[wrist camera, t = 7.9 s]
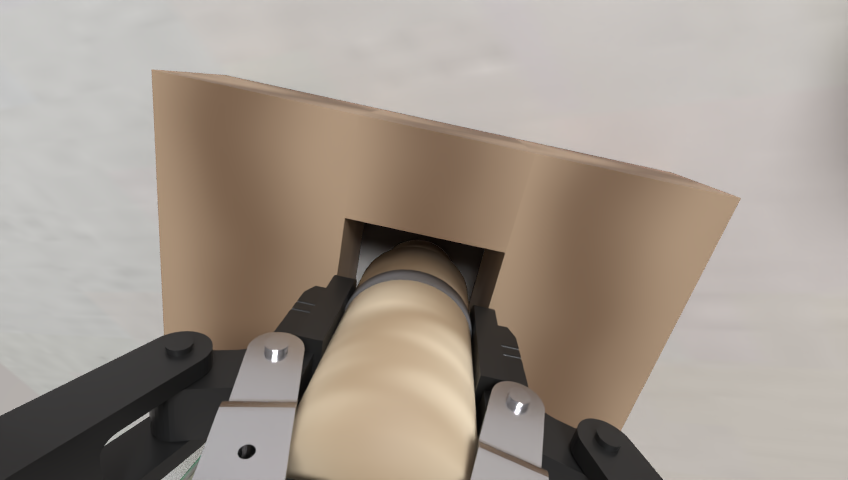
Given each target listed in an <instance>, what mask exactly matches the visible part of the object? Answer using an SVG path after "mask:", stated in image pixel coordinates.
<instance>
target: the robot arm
mask: <svg viewBox="0 0 848 480" xmlns="http://www.w3.org/2000/svg"><path fill="white" fill-rule="evenodd" d="M356 283H357V280H356V279H352V278H348V277H343V276H338V275H334V276H333V278H332V279H331V281H330V282H329V284H328V286H327V287H326V288H325V287H320V286H314V287H312V288H310V289H308V290H306V291H304V292H303V294H302V295H301V296H300V298H299V299H298V300H297V302H296V303H295V304H294V306H293V307H292V309H291V310H290V311H289V312H288V314H287V315H286V316H285V318H284V319H283V320H282V322H281V323H280V324H279V326H278V327H277V328H276V330H275V331H274V332H271V333H266V334H263V335H260V336H258V337H256V338H255V339H253V340H252V341H251V342H250V343H249V345H248V347H247V349H241V350H213V344H212V341H211V339H210V338H209V337H208V336H206V335H205V334H202V333H199V332H194V331H180V332H174V333H170V334H167V335H164V336H162V337H159V338H157V339H155V340H153V341H151V342H149V343H147V344H145V345H143V346H141V347H139V348H137V349H135V350H133V351H131V352H129V353H127V354H125V355H123V356H121V357H119V358H117V359H115V360H113V361H111V362H109V363H107V364H105V365H103V366H100V367H98V368H96V369H94V370H92V371H90V372H88V373H86V374H84V375H82V376H80V377H78V378H76V379H74V380H72V381H70V382H68V383H66V384H64V385H62V386H60V387H58V388H56V389H54V390H52V391H50V392H48V393H46V394H44V395H42V396H40V397H38V398H36V399H34V400H32V401H30V402H28V403H26V404H24V405H21V406H20V407H17V408H15V409H13V410H12V411H10V412H7V413H5V414H4V415H1V416H0V480H161V479H162V478H164V477H165V476H166V475H167V474H168V473H170V472H171V471H172V470H173V469H174V468H176V467H177V466H178V465H179V464H181V463H182V462H183V461H184V460H185V459H187V458H188V457H189V456H190V455H191V454H193V453H194V452H195V451H196V450H198V449H199V448H200V447H201V446H202V445H203V444H204V443H205V442H206V443H205V446H204V449H203V452H202V454H201V457H200V460H199V462H198V465H197V468H196V470H195V473H194V476H193V478H192V480H295V479H290V478H286V476H287V469H288V463H289V456H290V447H291V440H292V434H293V428H294V421H295V416H296V410H297V407H298V405H299V403H300V401H301V399H302V397H303V395H304V393H305V391H306V389H307V386H308V384H309V382H310V380H311V378H312V376H313V374H314V372H315V370H316V368H317V366H318V364H319V362H320V360H321V358H322V356H323V354H324V352H325V350H326V348H327V346H328V344H329V342H330V340H331V338H332V336H333V334H334V332H335V330H336V328H337V326H338V324H339V322H340V320H341V318H342V316H343V314H344V312H345V307H346V305H347V303H348V301H349V299H350V297H351V295H352V294H353V293H354V291H355V290H356ZM470 318H471V326H472V337H471V348H472V363H473V377H474V392H475V406H476V420H477V435H478V441H477V446H476V451H475V456H474V461H473V465H472V469H471V474H470V478H469V480H663V479H662V478H661V477H660V475H659V474H658V473H657V472H656V471H655V469H654V468H653V467H652V466H651V465H650V463H649V462H648V461H647V460H646V459H645V457H644V456H643V455H642V454H641V453H640V451H639V450H638V449H637V448H636V447H635V445H634V444H633V443H632V442H631V441H630V440H629V438H628V437H627V436H626V435H625V434H624V433H622V432H621V431H620V430H619V429H617V428H616V427H614V426H613V425H611V424H609V423H607V422H605V421H602V420H599V419H593V418H588V419H584V420H582V421H581V422H580V423H579V424H578V426H577V428H574V427H572V426H570V425H567V424H565V423H563V422H561V421H559V420H557V419H555V418H553V417H551V416H550V415H548V414H547V413H545V407H544V404H543V402H542V400H541V399H540V397H539V396H538V395H537V394H536V393H535V392H534V391H532V390H531V389H530V388H529V387H528V383H527V379H526V375H525V371H524V367H523V363H522V359H521V355H520V351H519V347H518V343H517V339H516V337H515V336H514V335H513V333H512V332H511V331H510V330H509V328H508V327H504V326H499V325H498V323H497V318H496V313H495V310H494V309H490V308H485V307H481V306H476V305H473V306H472V308H471V310H470ZM148 412H149V414H150V416H149V417H148V418H146V419H145V420H143V421H142V422H140V423H139V424H137V425H136V426H134V427H133V428H131V429H130V430H128V431H127V432H125V433H123V434H122V435H120V436H119V437H117V438H116V439H114V440H113V441H111V442H110V443H108V444H107V445H105V444H106V443H107V441H108V440H109V439H110V438H111V437H112V436H113V435H115V434H116V433H117V432H119V431H120V430H122V429H123V428H125V427H126V426H128V425H129V424H131V423H132V422H134V421H136V420H137V419H139V418H140V417H142V416H143V415H145V414H146V413H148ZM104 445H105V446H104Z"/></svg>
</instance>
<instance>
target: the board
mask: <svg viewBox="0 0 848 480" xmlns="http://www.w3.org/2000/svg"><path fill="white" fill-rule="evenodd" d="M152 88H153V109H154V131H155V152H156V173H157V194H158V215H159V236H160V257H161V279H162V300H163V321H164V335H167V334H170V333H174V332H180V331H194V332H199V333H202V334H205V335H206V336H208V337H209V338H210V339H211V341H212V344H213V350H241V349H247V347H248V345H249V343H250V342H251V341H252V340H253V339H255V338H256V337H258V336H260V335H263V334H266V333H271V332H274V331H275V330H276V328H277V327H278V326H279V324H280V323H281V322H282V320H283V319H284V318H285V316H286V315H287V314H288V312H289V311H290V310H291V309H292V307H293V306H294V304H295V303H296V302H297V300H298V299H299V298H300V296H301V295H302V294H303V292H304V291H306V290H308V289H310V288H312V287H314V286H320V287H325V288H326V287H327V286H328V284H329V282H330V281H331V279H332V278H333V276H334V275H338V276H343V277H348V278H352V279H356V273H357V266H358V260H359V253H360V247H361V241H362V234H363V228H364V222H366V223H370V224H375V225H380V226H384V227H389V228H393V229H398V230H403V231H407V232H412V233H416V234H421V235H426V236H430V237H435V238H439V239H444V240H449V241H453V242H458V243H463V244H467V245H472V246H476V247H481V248H485V250H484V253H483V257H482V260H481V264H480V267H479V271H478V274H477V278H476V282H475V285H474V289H473V292H472V296H471V299H470V303H469V314H470V310H471V308H472V306H473V305H476V306H481V307H485V308H490V309H494V310H495V313H496V318H497V323H498V325H499V326H504V327H508V328H509V330H510V331H511V332H512V333H513V335H514V336H515V337H516V339H517V343H518V347H519V351H520V355H521V359H522V363H523V367H524V371H525V375H526V379H527V383H528V387H529V388H530V389H531V390H532V391H534V392H535V393H536V394H537V395H538V396H539V397H540V399H541V400H542V402H543V404H544V407H545V413H547V414H548V415H550V416H551V417H553V418H555V419H557V420H559V421H561V422H563V423H565V424H567V425H570V426H572V427H574V428H577V426H578V424H579V423H580V422H581V421H582V420H584V419H588V418H593V419H599V420H602V421H605V422H607V423H609V424H611V425H613V426H614V427H616V428H617V429H619V430H620V431H621V429H622V427H623V425H624V423H625V422H626V420H627V418H628V416H629V414H630V412H631V410H632V408H633V406H634V404H635V402H636V400H637V398H638V396H639V394H640V392H641V391H642V389H643V387H644V385H645V383H646V381H647V379H648V377H649V375H650V373H651V371H652V369H653V367H654V365H655V363H656V361H657V360H658V358H659V356H660V354H661V352H662V350H663V348H664V346H665V344H666V342H667V340H668V338H669V336H670V334H671V332H672V330H673V329H674V327H675V325H676V323H677V321H678V319H679V317H680V315H681V313H682V311H683V309H684V307H685V305H686V303H687V301H688V299H689V298H690V296H691V294H692V292H693V290H694V288H695V286H696V284H697V282H698V280H699V278H700V276H701V274H702V272H703V270H704V269H705V267H706V265H707V263H708V261H709V259H710V257H711V255H712V253H713V251H714V249H715V247H716V245H717V243H718V241H719V239H720V238H721V236H722V234H723V232H724V230H725V228H726V226H727V224H728V222H729V220H730V218H731V216H732V214H733V212H734V210H735V208H736V207H737V205H738V203H739V201H740V199H741V198H739V197H736V196H734V195H731V194H728V193H725V192H723V191H720V190H717V189H714V188H712V187H709V186H706V185H704V184H701V183H698V182H695V181H693V180H690V179H687V178H685V177H682V176H679V175H676V174H674V173H671V172H666V171H662V170H657V169H652V168H648V167H643V166H639V165H634V164H629V163H625V162H620V161H616V160H611V159H607V158H602V157H597V156H593V155H588V154H584V153H579V152H575V151H570V150H565V149H561V148H556V147H552V146H547V145H542V144H538V143H533V142H529V141H524V140H520V139H515V138H510V137H506V136H501V135H497V134H492V133H488V132H483V131H478V130H474V129H469V128H465V127H460V126H456V125H451V124H446V123H442V122H437V121H433V120H428V119H423V118H419V117H414V116H410V115H405V114H401V113H396V112H391V111H387V110H382V109H378V108H373V107H369V106H364V105H359V104H355V103H350V102H346V101H341V100H336V99H332V98H327V97H323V96H318V95H314V94H309V93H304V92H300V91H295V90H291V89H286V88H282V87H277V86H272V85H268V84H263V83H259V82H254V81H249V80H245V79H240V78H236V77H231V76H227V75H216V74H203V73H190V72H177V71H164V70H152Z"/></svg>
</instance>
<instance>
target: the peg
mask: <svg viewBox="0 0 848 480" xmlns="http://www.w3.org/2000/svg"><path fill="white" fill-rule="evenodd" d="M471 337H472V326H471V318H470V314H469V305H468V292H467V287H466V283H465V281H464V278H463V276H462V274H461V273H460V271H459V270H458V268H457V267H456V266H455V265H454V264H453V263H452V262H451V260H450V258H449V256H448V255H447V254H446V252H445V251H444V250H443V249H441V248H440V247H439V246H437V245H435V244H433V243H431V242H428V241H424V240H409V241H405V242H403V243H400V244H398V245H397V246H395V247H394V248H393V249H392V250H390V251H387V252H385V253H383V254H382V255H380V256H379V257H377V258H376V259H375V260H374V261H373V262H372V263H371V264H370V265H369V266H368V267H367V269H366V271H365V272H364V274H363V276H362V278H361V280H360V282H359V284H358V286H357V288H356V290H355V291H354V293H353V294H352V295H351V297H350V299H349V301H348V303H347V305H346V307H345V312H344V314H343V316H342V318H341V320H340V322H339V324H338V326H337V328H336V330H335V332H334V334H333V336H332V338H331V340H330V342H329V344H328V346H327V348H326V350H325V352H324V354H323V356H322V358H321V360H320V362H319V364H318V366H317V368H316V370H315V372H314V374H313V376H312V378H311V380H310V382H309V384H308V386H307V389H306V391H305V393H304V395H303V397H302V399H301V401H300V403H299V405H298V407H297V410H296V416H295V421H294V428H293V434H292V440H291V447H290V456H289V463H288V469H287V476H286V478H290V479H295V480H469V478H470V474H471V469H472V465H473V461H474V456H475V451H476V446H477V441H478V435H477V420H476V406H475V392H474V377H473V363H472V348H471Z"/></svg>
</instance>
